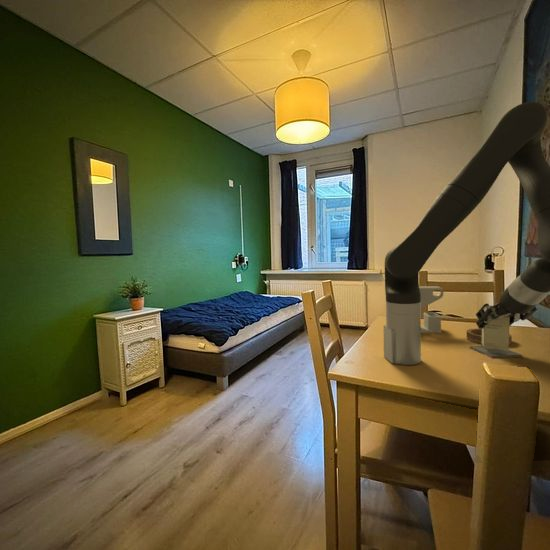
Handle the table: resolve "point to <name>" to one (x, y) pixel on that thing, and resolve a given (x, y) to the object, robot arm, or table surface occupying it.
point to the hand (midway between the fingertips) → (491, 325)
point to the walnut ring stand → (479, 336)
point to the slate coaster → (496, 352)
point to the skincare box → (496, 333)
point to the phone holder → (430, 318)
